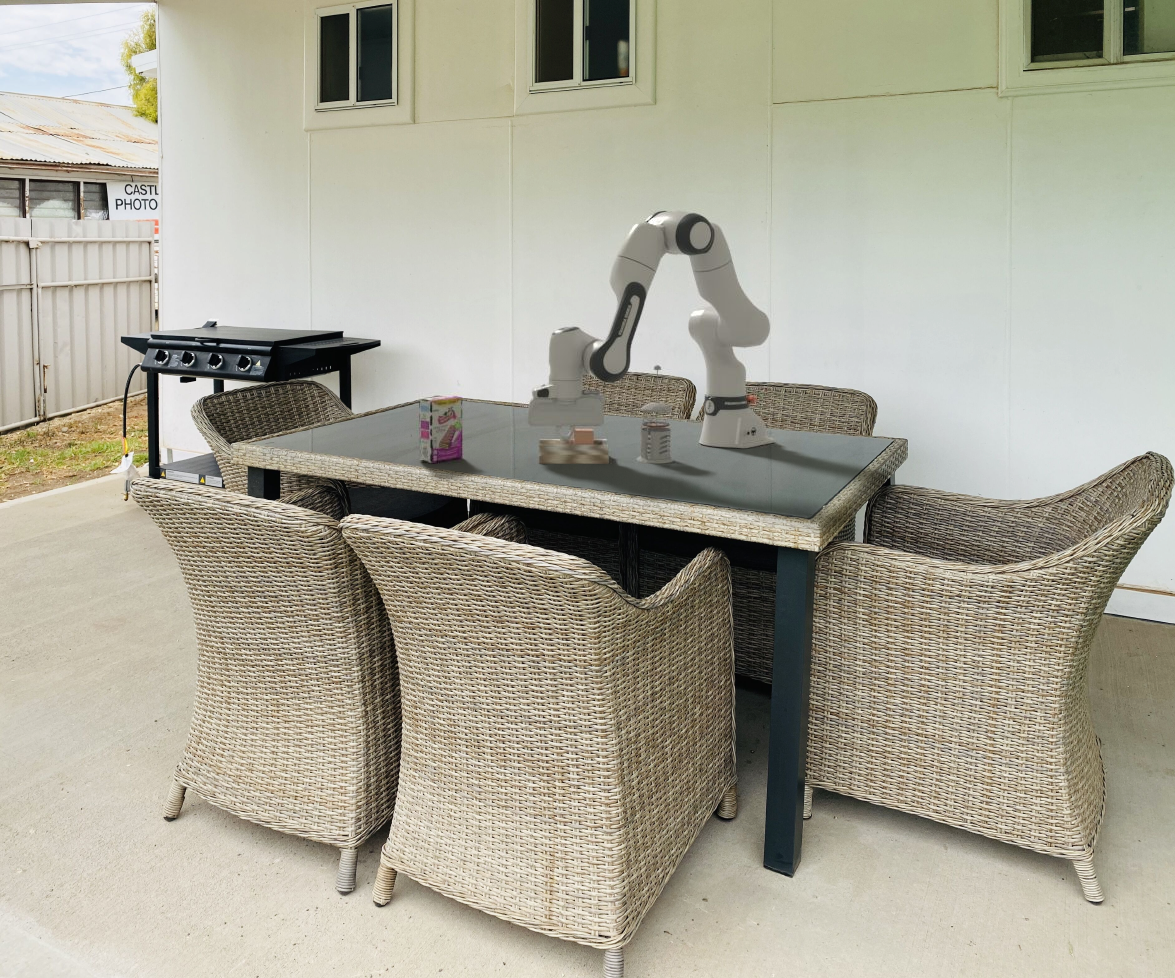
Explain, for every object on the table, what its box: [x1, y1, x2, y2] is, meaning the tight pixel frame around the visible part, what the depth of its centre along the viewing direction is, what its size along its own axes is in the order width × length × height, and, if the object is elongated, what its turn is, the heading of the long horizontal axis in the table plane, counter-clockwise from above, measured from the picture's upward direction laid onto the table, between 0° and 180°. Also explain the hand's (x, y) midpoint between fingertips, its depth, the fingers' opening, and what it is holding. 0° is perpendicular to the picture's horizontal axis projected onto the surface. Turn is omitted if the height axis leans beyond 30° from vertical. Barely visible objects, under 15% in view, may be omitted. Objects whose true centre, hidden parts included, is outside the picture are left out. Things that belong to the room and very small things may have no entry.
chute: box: [538, 438, 610, 465], centre depth 257 cm, size 18×12×4 cm, turn 92°
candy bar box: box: [418, 395, 463, 464], centre depth 253 cm, size 11×5×16 cm, turn 141°
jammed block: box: [573, 428, 595, 445], centre depth 257 cm, size 5×6×6 cm
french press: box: [636, 364, 674, 464], centre depth 254 cm, size 10×12×25 cm
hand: (565, 442), depth 257 cm, fingers closed
